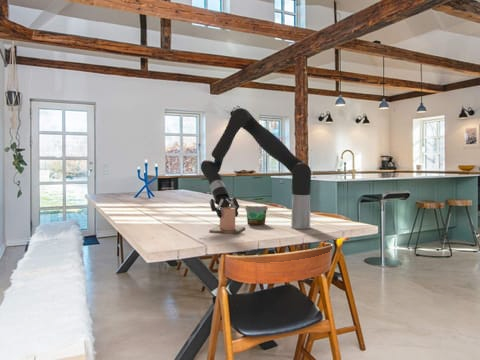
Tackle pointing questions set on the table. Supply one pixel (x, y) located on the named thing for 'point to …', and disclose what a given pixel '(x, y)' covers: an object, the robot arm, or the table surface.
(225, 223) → the salmon pink block
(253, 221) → the food container
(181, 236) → the table surface
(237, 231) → the peg base
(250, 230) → the table surface
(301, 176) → the robot arm
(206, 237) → the table surface
